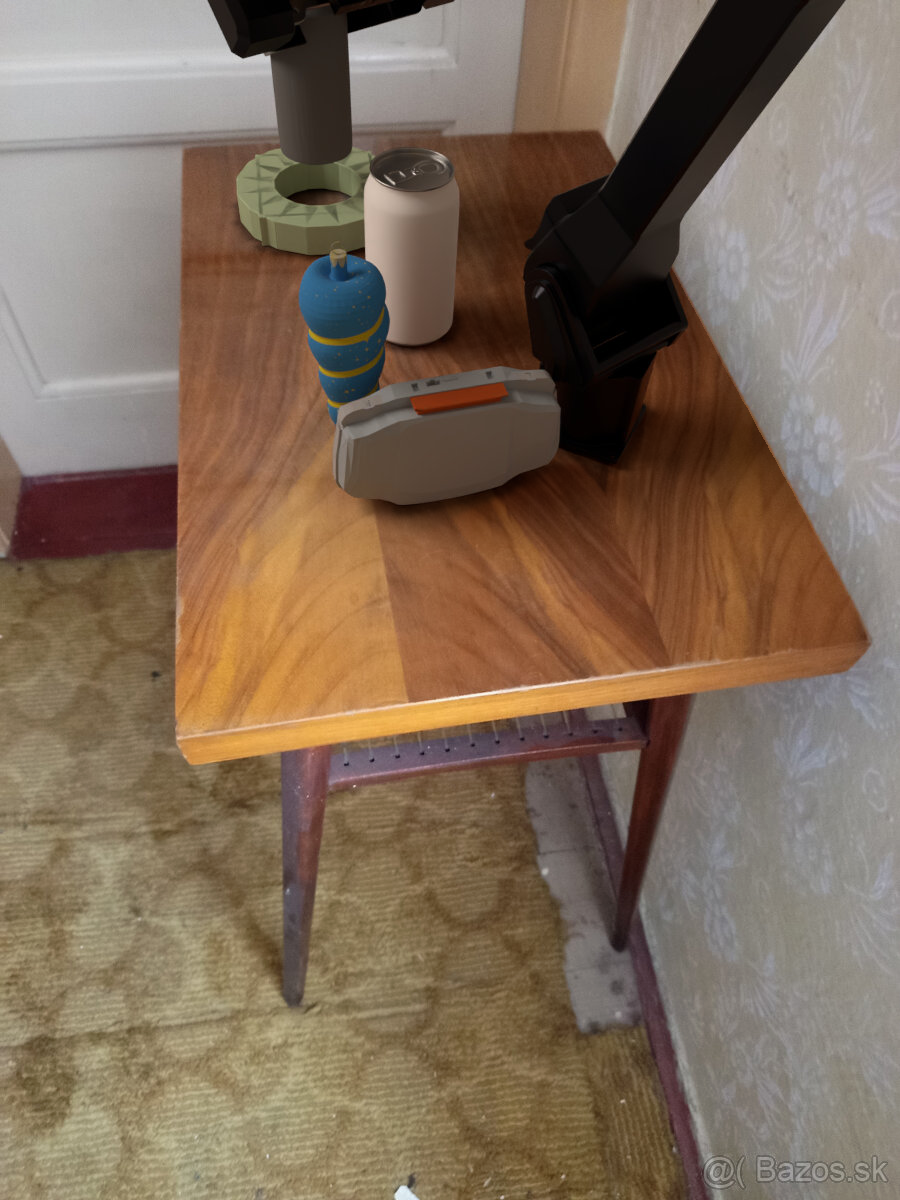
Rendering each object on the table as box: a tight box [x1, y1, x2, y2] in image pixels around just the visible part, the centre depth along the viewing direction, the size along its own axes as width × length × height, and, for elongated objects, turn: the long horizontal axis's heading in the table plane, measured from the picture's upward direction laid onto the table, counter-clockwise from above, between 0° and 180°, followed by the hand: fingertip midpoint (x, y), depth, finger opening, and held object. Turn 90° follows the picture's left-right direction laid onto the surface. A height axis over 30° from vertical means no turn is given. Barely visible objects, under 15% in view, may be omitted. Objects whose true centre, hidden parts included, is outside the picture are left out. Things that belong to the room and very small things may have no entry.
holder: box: [235, 146, 377, 256], centre depth 77 cm, size 13×13×2 cm
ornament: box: [298, 242, 390, 426], centre depth 55 cm, size 5×5×15 cm
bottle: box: [269, 5, 353, 165], centre depth 68 cm, size 6×6×15 cm
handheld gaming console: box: [332, 365, 561, 506], centre depth 56 cm, size 14×3×8 cm, turn 107°
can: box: [364, 146, 461, 347], centre depth 65 cm, size 6×6×12 cm
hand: (298, 39), depth 69 cm, fingers closed on bottle, 6 cm apart
